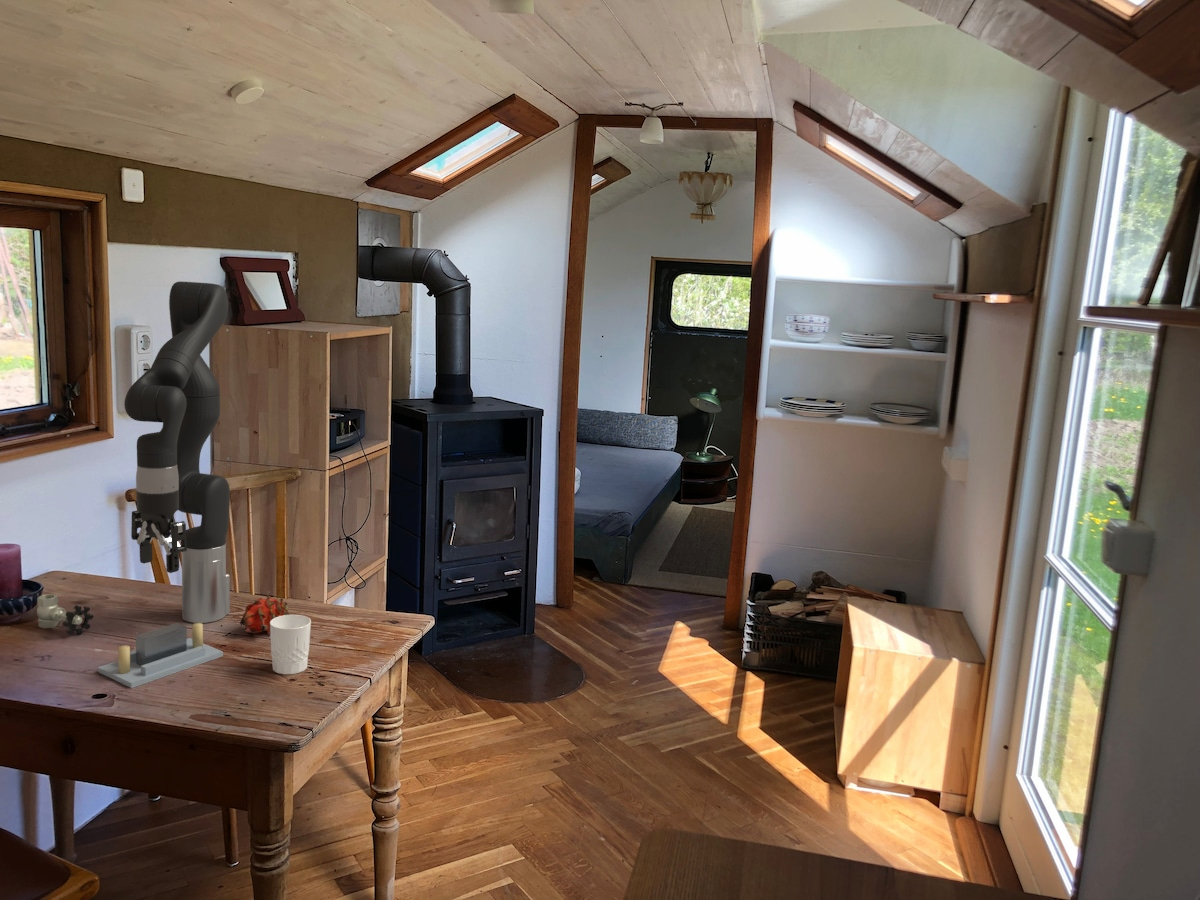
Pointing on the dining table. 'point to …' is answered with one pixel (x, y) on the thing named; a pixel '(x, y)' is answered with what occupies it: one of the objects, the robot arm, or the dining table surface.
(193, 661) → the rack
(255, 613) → the dragon fruit
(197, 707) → the dining table surface
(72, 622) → the valve
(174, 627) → the gray rectangular block
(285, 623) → the white cup
